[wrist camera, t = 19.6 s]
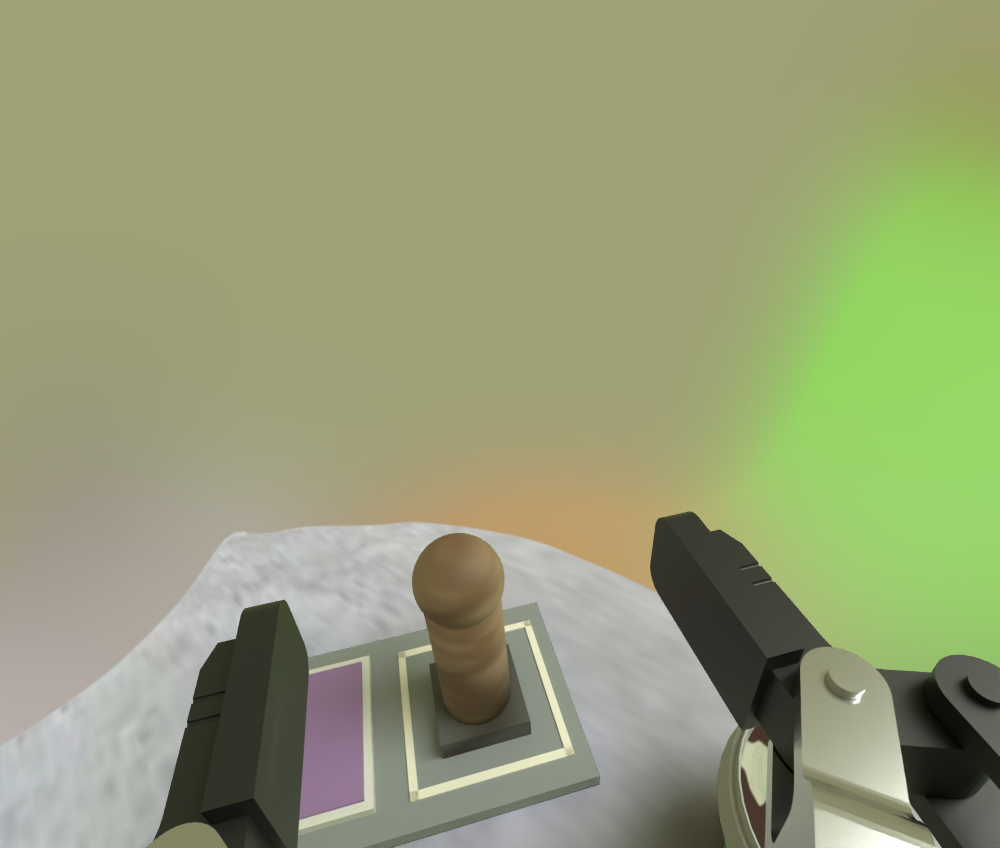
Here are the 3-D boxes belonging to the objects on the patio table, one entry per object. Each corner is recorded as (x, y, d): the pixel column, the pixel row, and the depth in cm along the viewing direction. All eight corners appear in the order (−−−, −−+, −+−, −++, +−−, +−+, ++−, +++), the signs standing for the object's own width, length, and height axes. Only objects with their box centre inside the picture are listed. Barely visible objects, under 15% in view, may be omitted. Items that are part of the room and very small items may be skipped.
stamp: (443, 759, 33) (403, 601, 25) (432, 676, 38) (395, 522, 30) (531, 734, 34) (518, 574, 26) (509, 656, 38) (493, 501, 31)
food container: (751, 729, 34) (784, 628, 29) (861, 801, 30) (923, 701, 25) (651, 918, 27) (670, 831, 21) (779, 1044, 23) (842, 976, 18)
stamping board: (169, 915, 28) (155, 902, 27) (220, 688, 39) (211, 674, 38) (599, 784, 32) (600, 769, 31) (537, 610, 43) (536, 595, 42)
